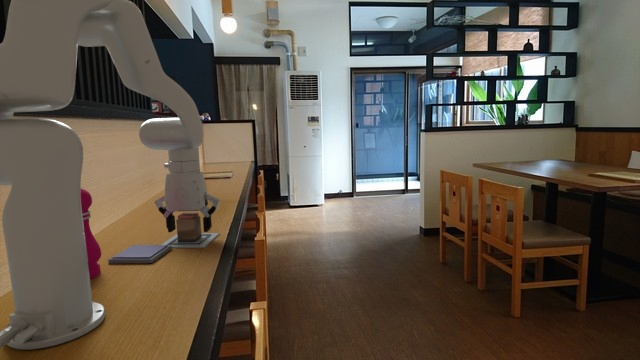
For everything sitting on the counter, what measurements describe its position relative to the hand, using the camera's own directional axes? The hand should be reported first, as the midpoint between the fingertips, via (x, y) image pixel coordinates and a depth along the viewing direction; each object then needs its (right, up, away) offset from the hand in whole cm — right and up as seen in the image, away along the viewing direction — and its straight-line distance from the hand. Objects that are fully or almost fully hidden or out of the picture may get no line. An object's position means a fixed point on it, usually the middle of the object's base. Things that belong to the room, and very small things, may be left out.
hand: (189, 230), depth 101 cm
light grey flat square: (0, -3, 0) cm, 3 cm away
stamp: (0, -2, 0) cm, 2 cm away
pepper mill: (-14, -7, -23) cm, 27 cm away
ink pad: (-8, -5, -11) cm, 14 cm away
